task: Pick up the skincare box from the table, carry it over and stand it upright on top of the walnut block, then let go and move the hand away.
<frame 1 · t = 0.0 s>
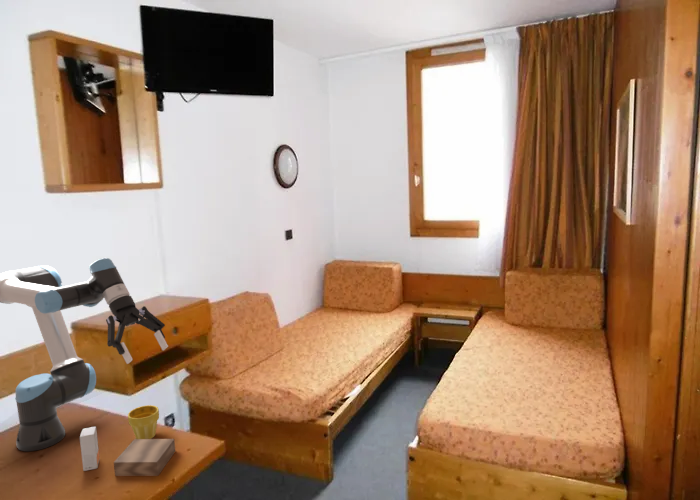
hand: (148, 355, 163), 36 cm above the table, tool tilted 35°, fingers open, 13 cm apart
plant pot: (145, 437, 181), on the table
walnut block: (146, 464, 164), on the table
skincare box: (91, 465, 164), on the table
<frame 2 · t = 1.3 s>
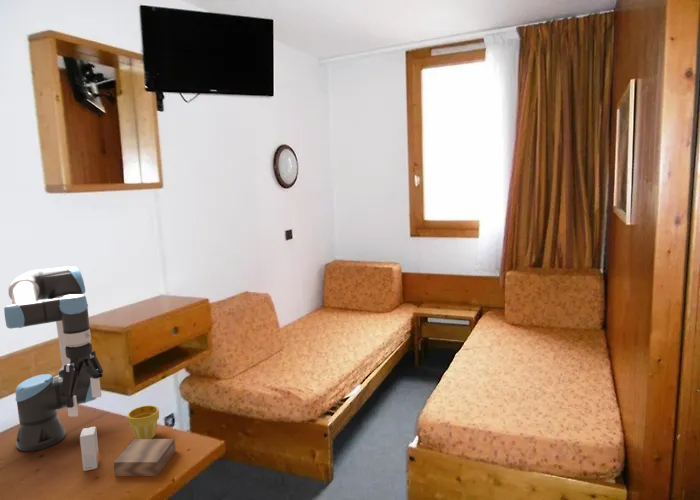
hand: (85, 406, 161), 21 cm above the table, tool pointing down, fingers open, 13 cm apart
nothing on the table moved.
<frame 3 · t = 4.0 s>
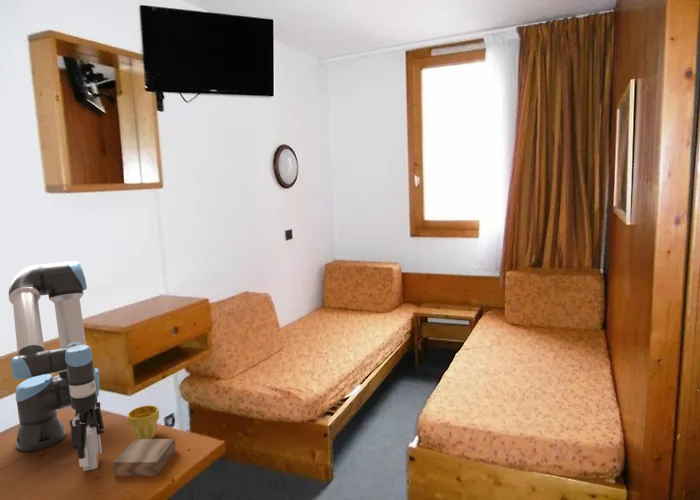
hand: (91, 459, 164), 2 cm above the table, tool pointing down, fingers closed on skincare box, 7 cm apart
skincare box: (91, 465, 164), on the table, touching gripper
everything else where it was.
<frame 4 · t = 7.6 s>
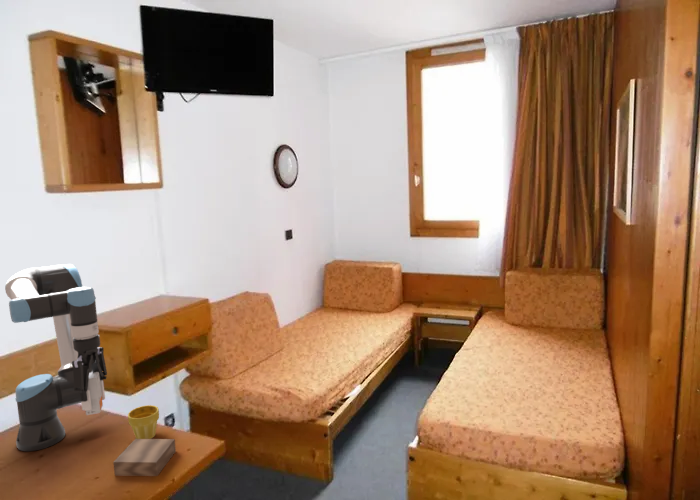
hand: (94, 404, 161), 21 cm above the table, tool pointing down, fingers closed on skincare box, 7 cm apart
skincare box: (94, 411, 161), point 19 cm above the table, touching gripper
everything else where it was.
when the fingers open (8 cm above the table, at t = 11.0 s): skincare box drops 1 cm, resting on walnut block.
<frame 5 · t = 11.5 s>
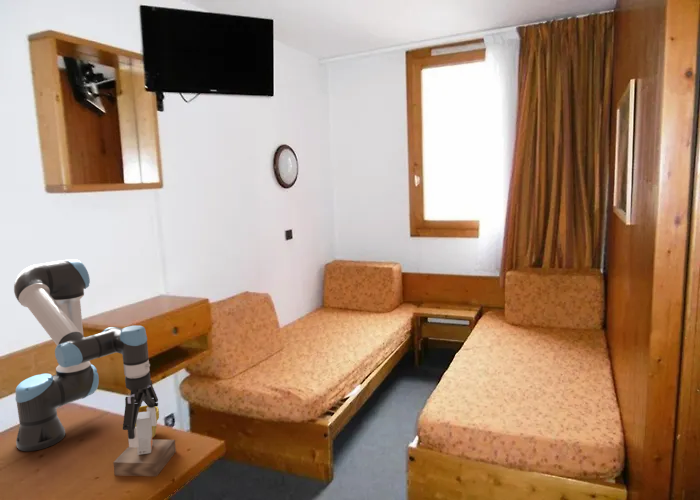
hand: (143, 435, 163), 10 cm above the table, tool pointing down, fingers open, 13 cm apart
walnut block: (146, 464, 164), on the table, touching skincare box
skincare box: (145, 450, 164), point 4 cm above the table, touching walnut block
everything else where it was.
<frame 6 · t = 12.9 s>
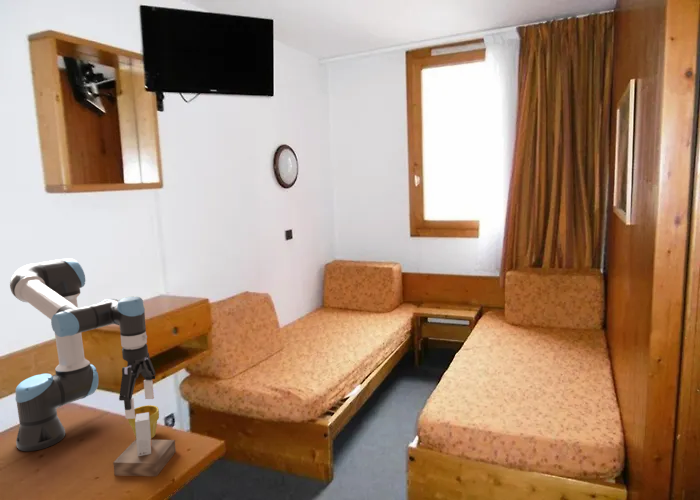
hand: (140, 408, 162), 19 cm above the table, tool pointing down, fingers open, 13 cm apart
walnut block: (146, 464, 164), on the table
skincare box: (144, 451, 163), point 4 cm above the table
everything else where it was.
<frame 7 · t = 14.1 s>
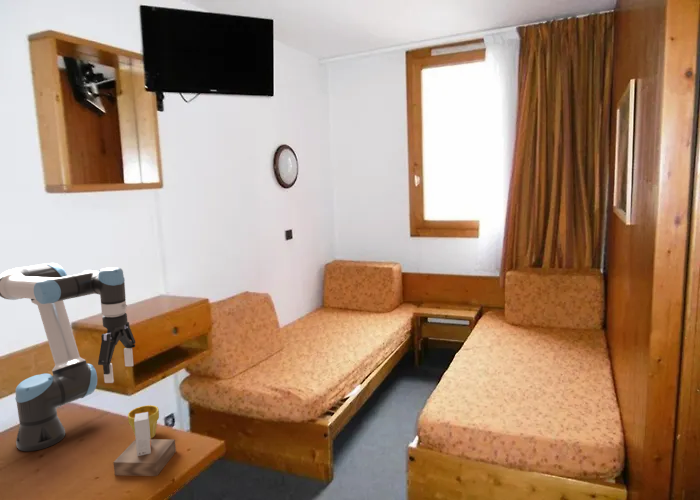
hand: (119, 374, 169), 28 cm above the table, tool pointing down, fingers open, 13 cm apart
walnut block: (146, 464, 164), on the table, touching skincare box
skincare box: (144, 451, 163), point 4 cm above the table, touching walnut block
everything else where it was.
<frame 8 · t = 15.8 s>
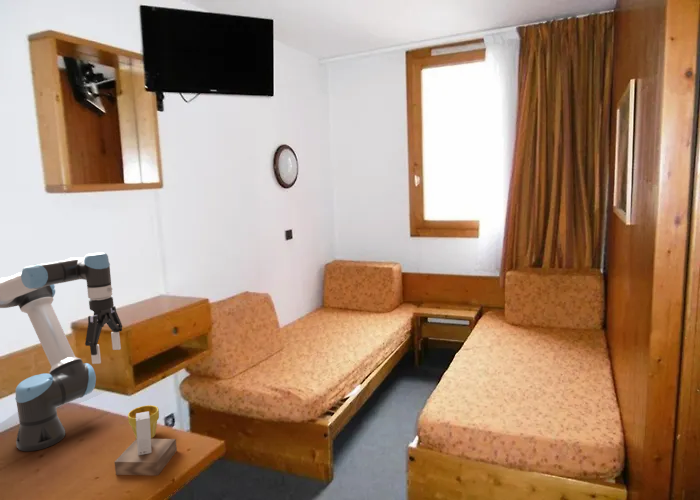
hand: (107, 356, 175), 32 cm above the table, tool pointing down, fingers open, 13 cm apart
nothing on the table moved.
at the end: skincare box inside the target area on the walnut block (0.4 cm from its centre), point 5.0 cm above the walnut block's base; skincare box tilted 3°; the gripper is holding nothing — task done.
